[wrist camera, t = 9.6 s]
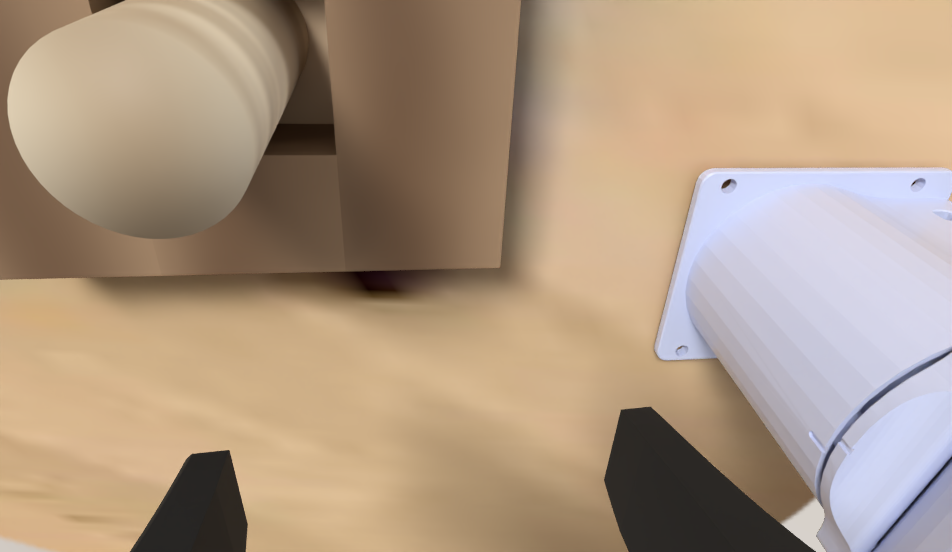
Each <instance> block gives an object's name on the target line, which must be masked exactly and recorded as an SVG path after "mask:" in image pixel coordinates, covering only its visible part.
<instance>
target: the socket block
mask: <svg viewBox="0 0 952 552" xmlns="http://www.w3.org/2000/svg"><path fill="white" fill-rule="evenodd" d="M123 1H125V0H0V280H3V279H45V278H87V277H130V276H172V275H214V274H257V273H299V272H341V271H384V270H426V269H468V268H500V263H501V251H502V238H503V225H504V212H505V199H506V187H507V174H508V161H509V148H510V135H511V123H512V110H513V97H514V84H515V71H516V59H517V46H518V33H519V20H520V7H521V0H295V2H296V4H297V5H298V7H299V9H300V11H301V13H302V15H303V17H304V20H305V24H306V27H307V32H308V40H309V49H308V57H307V62H306V64H305V67H304V70H303V72H302V74H301V76H300V78H299V80H298V82H297V85H296V87H295V89H294V91H293V93H292V95H291V97H290V99H289V101H288V103H287V106H286V108H285V110H284V112H283V114H282V116H281V118H280V120H279V122H278V124H277V127H276V129H275V131H274V133H273V135H272V137H271V139H270V141H269V143H268V145H267V148H266V150H265V152H264V154H263V156H262V158H261V160H260V162H259V164H258V166H257V169H256V171H255V173H254V175H253V177H252V179H251V181H250V183H249V185H248V188H247V190H246V191H245V193H244V195H243V197H242V199H241V200H240V202H239V203H238V204H237V206H236V207H235V208H234V210H232V211H231V212H230V213H229V214H228V215H227V216H226V217H225V218H224V219H222V220H221V221H220V222H218V223H217V224H215V225H214V226H212V227H210V228H208V229H206V230H204V231H201V232H198V233H195V234H193V235H189V236H184V237H180V238H171V239H147V238H139V237H133V236H128V235H124V234H120V233H117V232H114V231H111V230H108V229H105V228H103V227H101V226H98V225H96V224H94V223H91V222H90V221H88V220H86V219H84V218H82V217H81V216H79V215H77V214H76V213H74V212H73V211H71V210H70V209H68V208H67V207H65V206H64V205H63V204H62V203H61V202H59V201H58V200H57V199H56V198H55V197H53V196H52V195H51V194H50V193H49V192H48V191H47V190H46V189H45V188H44V187H43V186H42V185H41V184H40V182H39V181H38V180H37V179H36V177H35V176H34V175H33V174H32V172H31V171H30V169H29V168H28V166H27V165H26V163H25V162H24V160H23V158H22V157H21V154H20V152H19V150H18V148H17V146H16V144H15V141H14V138H13V135H12V132H11V129H10V123H9V118H8V103H7V99H8V91H9V85H10V82H11V78H12V75H13V72H14V70H15V68H16V66H17V65H18V63H19V61H20V59H21V58H22V57H23V55H24V54H25V53H26V52H27V50H28V49H29V48H30V47H31V46H32V45H33V44H35V43H36V42H37V41H38V40H39V39H41V38H42V37H44V36H46V35H47V34H49V33H51V32H52V31H54V30H57V29H59V28H61V27H64V26H66V25H68V24H71V23H73V22H76V21H78V20H80V19H83V18H85V17H87V16H90V15H92V14H94V13H97V12H99V11H102V10H104V9H106V8H109V7H111V6H113V5H116V4H118V3H120V2H123Z"/></svg>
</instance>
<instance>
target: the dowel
mask: <svg viewBox="0 0 952 552" xmlns="http://www.w3.org/2000/svg"><path fill="white" fill-rule="evenodd" d="M308 49H309V40H308V32H307V27H306V24H305V20H304V17H303V15H302V13H301V11H300V9H299V7H298V5H297V4H296V2H295V0H125V1H123V2H120V3H118V4H116V5H113V6H111V7H109V8H106V9H104V10H102V11H99V12H97V13H94V14H92V15H90V16H87V17H85V18H83V19H80V20H78V21H76V22H73V23H71V24H68V25H66V26H64V27H61V28H59V29H57V30H54V31H52V32H51V33H49V34H47V35H46V36H44V37H42V38H41V39H39V40H38V41H37V42H36V43H35V44H33V45H32V46H31V47H30V48H29V49H28V50H27V52H26V53H25V54H24V55H23V57H22V58H21V59H20V61H19V63H18V65H17V66H16V68H15V70H14V72H13V75H12V78H11V82H10V85H9V91H8V99H7V103H8V118H9V123H10V129H11V132H12V135H13V138H14V141H15V144H16V146H17V148H18V150H19V152H20V154H21V157H22V158H23V160H24V162H25V163H26V165H27V166H28V168H29V169H30V171H31V172H32V174H33V175H34V176H35V177H36V179H37V180H38V181H39V182H40V184H41V185H42V186H43V187H44V188H45V189H46V190H47V191H48V192H49V193H50V194H51V195H52V196H53V197H55V198H56V199H57V200H58V201H59V202H61V203H62V204H63V205H64V206H65V207H67V208H68V209H70V210H71V211H73V212H74V213H76V214H77V215H79V216H81V217H82V218H84V219H86V220H88V221H90V222H91V223H94V224H96V225H98V226H101V227H103V228H105V229H108V230H111V231H114V232H117V233H120V234H124V235H128V236H133V237H139V238H147V239H171V238H180V237H184V236H189V235H193V234H195V233H198V232H201V231H204V230H206V229H208V228H210V227H212V226H214V225H215V224H217V223H218V222H220V221H221V220H222V219H224V218H225V217H226V216H227V215H228V214H229V213H230V212H231V211H232V210H234V208H235V207H236V206H237V204H238V203H239V202H240V200H241V199H242V197H243V195H244V193H245V191H246V190H247V188H248V185H249V183H250V181H251V179H252V177H253V175H254V173H255V171H256V169H257V166H258V164H259V162H260V160H261V158H262V156H263V154H264V152H265V150H266V148H267V145H268V143H269V141H270V139H271V137H272V135H273V133H274V131H275V129H276V127H277V124H278V122H279V120H280V118H281V116H282V114H283V112H284V110H285V108H286V106H287V103H288V101H289V99H290V97H291V95H292V93H293V91H294V89H295V87H296V85H297V82H298V80H299V78H300V76H301V74H302V72H303V70H304V67H305V64H306V62H307V57H308Z"/></svg>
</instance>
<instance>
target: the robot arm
mask: <svg viewBox="0 0 952 552" xmlns="http://www.w3.org/2000/svg"><path fill="white" fill-rule="evenodd" d="M728 179H731V182H730V184H729V186H727V187H726V188H723V189H721V186H722V184H723V183H724V182H725V181H726V180H728ZM915 180H917V181H916V182H915V184H913V185H912V183H913V182H914V181H915ZM911 185H912V186H911ZM951 193H952V171H951V170H949V169H947V168H712V169H708V170H706V171H704V172H703V173H702V174H701V175H700V176H699V177H698V179H697V182H696V185H695V189H694V193H693V197H692V201H691V205H690V209H689V213H688V217H687V220H686V224H685V228H684V232H683V236H682V240H681V244H680V248H679V252H678V256H677V260H676V264H675V268H674V272H673V275H672V279H671V283H670V287H669V291H668V295H667V299H666V303H665V307H664V311H663V315H662V319H661V323H660V327H659V330H658V334H657V338H656V342H655V346H654V350H655V352H656V354H657V355H658V357H659V358H660V359H662V360H686V359H709V358H718V359H719V361H720V362H721V364H722V365H723V366H724V368H725V369H726V371H727V372H728V374H729V375H730V376H731V378H732V379H733V381H734V382H735V383H736V385H737V386H738V388H739V389H740V391H741V392H742V393H743V395H744V396H745V398H746V399H747V401H748V402H749V403H750V405H751V406H752V408H753V409H754V410H755V412H756V413H757V415H758V416H759V418H760V419H761V420H762V422H763V423H764V425H765V426H766V428H767V429H768V430H769V432H770V433H771V435H772V436H773V437H774V439H775V440H776V442H777V443H778V445H779V446H780V447H781V449H782V450H783V452H784V453H785V455H786V456H787V457H788V459H789V460H790V462H791V463H792V464H793V466H794V467H795V469H796V470H797V472H798V473H799V474H800V476H801V477H802V479H803V480H804V482H805V483H806V484H807V486H808V487H809V489H810V490H811V491H812V493H813V494H814V496H815V497H816V499H817V500H818V501H819V503H820V504H821V506H822V507H823V509H824V513H825V518H824V522H823V524H822V526H821V528H820V529H819V531H818V532H817V535H816V537H817V538H818V540H819V541H820V543H821V544H822V546H823V547H824V549H825V550H826V552H952V202H951V201H949V200H948V199H949V197H950V195H951ZM683 345H684V346H683ZM680 346H683V347H682V348H680V349H678V350H676V349H677V348H678V347H680ZM604 481H605V485H606V488H607V491H608V495H609V498H610V501H611V505H612V508H613V511H614V514H615V517H616V520H617V523H618V526H619V529H620V532H621V534H622V537H623V539H624V541H625V544H626V546H627V548H628V551H629V552H816V551H814V550H813V549H811V548H810V547H809V546H808V545H806V544H805V543H804V542H803V541H801V540H800V539H799V538H797V537H796V536H795V535H794V534H792V533H791V532H790V531H789V530H787V529H786V528H785V527H784V526H783V525H781V524H780V523H779V522H778V521H776V520H775V519H774V518H773V517H771V516H770V515H769V514H768V513H767V512H765V511H764V510H763V509H762V508H761V507H759V506H758V505H757V504H756V503H755V502H754V501H752V500H751V499H750V498H749V497H748V496H747V495H745V494H744V493H743V492H742V491H741V490H740V489H739V488H738V487H736V486H735V485H734V484H733V483H732V482H731V481H730V480H729V479H727V478H726V477H725V476H724V475H723V474H722V473H721V472H720V471H719V470H717V469H716V468H715V467H714V466H713V465H712V464H711V463H710V462H709V461H708V460H707V459H706V458H704V457H703V456H702V455H701V454H700V453H699V452H698V451H697V450H696V449H695V448H694V447H693V446H692V445H691V444H690V443H688V442H687V441H686V440H685V439H684V438H683V437H682V436H681V435H680V434H679V433H678V432H677V431H676V430H675V429H674V428H673V427H672V426H671V425H669V424H668V423H667V422H666V421H665V420H664V419H663V418H662V417H661V416H660V415H659V414H658V413H657V412H656V411H655V410H653V409H652V408H651V407H644V408H634V409H624V410H621V412H620V416H619V421H618V425H617V429H616V433H615V437H614V441H613V445H612V450H611V454H610V458H609V462H608V466H607V470H606V474H605V479H604ZM247 526H248V524H247V520H246V516H245V512H244V508H243V504H242V500H241V496H240V492H239V487H238V483H237V479H236V475H235V471H234V467H233V463H232V459H231V455H230V451H229V450H226V451H216V452H206V453H197V454H191V455H190V456H189V457H188V458H187V459H186V461H185V463H184V464H183V466H182V468H181V470H180V471H179V473H178V475H177V477H176V478H175V480H174V482H173V484H172V485H171V487H170V489H169V490H168V492H167V494H166V496H165V497H164V499H163V501H162V502H161V504H160V505H159V507H158V509H157V510H156V512H155V514H154V515H153V517H152V518H151V520H150V522H149V523H148V525H147V526H146V528H145V530H144V531H143V533H142V534H141V536H140V537H139V539H138V540H137V542H136V543H135V545H134V546H133V548H132V549H131V551H130V552H246V539H247Z"/></svg>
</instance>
